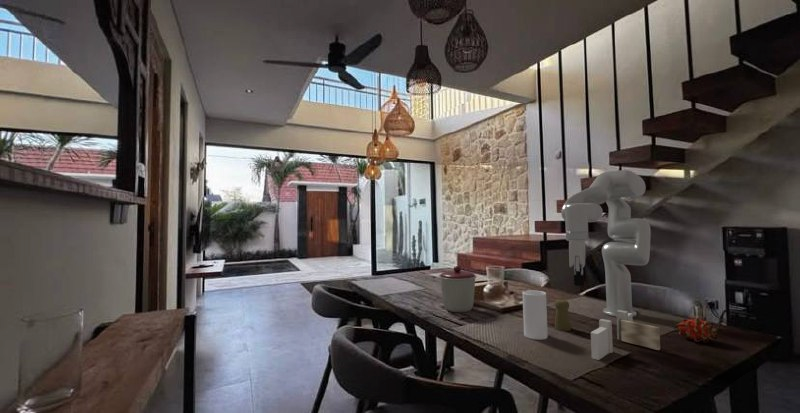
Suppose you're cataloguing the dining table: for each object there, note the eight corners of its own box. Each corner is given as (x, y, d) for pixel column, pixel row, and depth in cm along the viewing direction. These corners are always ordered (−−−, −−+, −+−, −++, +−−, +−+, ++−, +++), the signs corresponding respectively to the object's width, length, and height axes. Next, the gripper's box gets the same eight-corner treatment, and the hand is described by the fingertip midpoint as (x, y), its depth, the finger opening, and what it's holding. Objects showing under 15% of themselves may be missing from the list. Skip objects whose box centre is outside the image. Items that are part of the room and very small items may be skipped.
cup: (529, 330, 133) (528, 289, 134) (551, 335, 127) (549, 292, 128) (520, 336, 127) (518, 292, 128) (542, 341, 122) (540, 296, 122)
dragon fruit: (724, 350, 114) (678, 347, 121) (718, 329, 119) (675, 327, 127) (720, 333, 110) (673, 331, 118) (714, 312, 116) (670, 312, 124)
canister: (450, 303, 177) (449, 262, 178) (483, 307, 167) (482, 264, 167) (432, 311, 163) (431, 267, 163) (468, 317, 152) (466, 270, 152)
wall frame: (625, 333, 127) (624, 306, 127) (634, 335, 124) (633, 308, 124) (590, 357, 107) (588, 325, 107) (600, 360, 105) (599, 327, 105)
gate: (618, 339, 120) (617, 319, 120) (621, 338, 121) (620, 318, 121) (658, 350, 110) (657, 328, 110) (661, 348, 111) (660, 326, 111)
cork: (573, 331, 131) (572, 302, 131) (556, 330, 132) (555, 302, 132) (568, 326, 137) (567, 298, 137) (552, 325, 138) (551, 298, 138)
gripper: (567, 234, 137) (569, 280, 136) (564, 238, 124) (566, 288, 123) (589, 234, 133) (591, 282, 132) (587, 238, 120) (590, 290, 120)
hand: (579, 285), depth 128 cm, fingers closed
